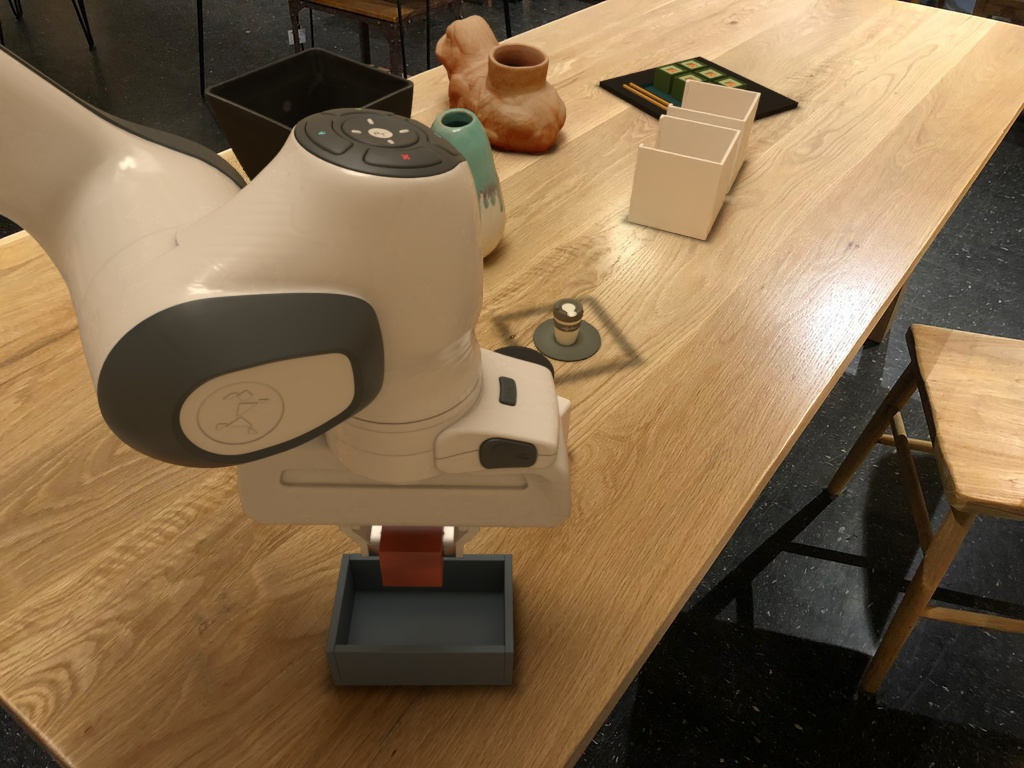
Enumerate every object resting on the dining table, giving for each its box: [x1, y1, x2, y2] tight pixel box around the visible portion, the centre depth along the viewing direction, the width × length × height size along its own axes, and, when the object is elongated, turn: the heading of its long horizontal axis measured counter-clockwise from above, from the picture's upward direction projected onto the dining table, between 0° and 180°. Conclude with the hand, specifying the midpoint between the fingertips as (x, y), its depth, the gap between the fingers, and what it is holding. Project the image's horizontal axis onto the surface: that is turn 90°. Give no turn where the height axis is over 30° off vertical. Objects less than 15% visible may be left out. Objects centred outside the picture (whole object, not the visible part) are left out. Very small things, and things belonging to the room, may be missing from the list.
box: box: [325, 553, 515, 686], centre depth 58 cm, size 13×8×5 cm, turn 91°
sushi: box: [598, 55, 799, 122], centre depth 136 cm, size 25×25×4 cm
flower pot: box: [204, 47, 415, 182], centre depth 101 cm, size 19×19×17 cm
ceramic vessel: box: [434, 15, 567, 155], centre depth 122 cm, size 14×26×15 cm, turn 40°
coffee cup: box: [532, 297, 602, 362], centre depth 85 cm, size 12×12×5 cm
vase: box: [429, 108, 507, 259], centre depth 94 cm, size 12×12×18 cm
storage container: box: [626, 79, 761, 241], centre depth 109 cm, size 25×11×11 cm, turn 156°
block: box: [378, 526, 444, 587], centre depth 52 cm, size 4×4×4 cm
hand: (414, 548), depth 52 cm, fingers closed on block, 4 cm apart
